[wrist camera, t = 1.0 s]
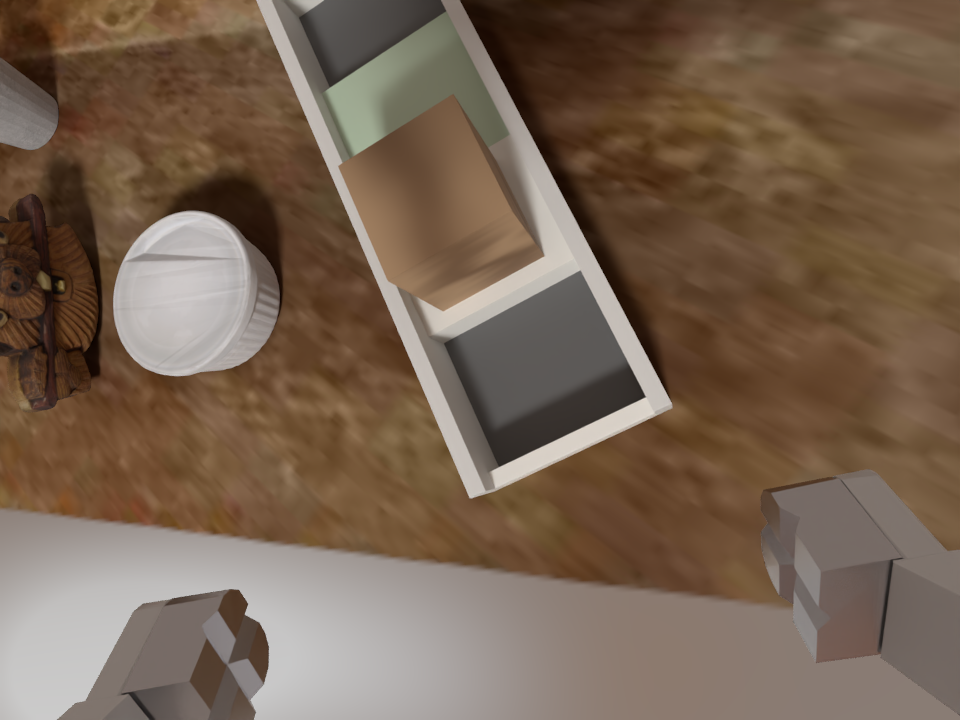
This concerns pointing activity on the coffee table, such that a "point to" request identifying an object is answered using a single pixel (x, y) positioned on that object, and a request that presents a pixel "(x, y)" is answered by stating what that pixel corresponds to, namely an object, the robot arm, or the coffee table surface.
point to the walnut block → (439, 208)
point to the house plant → (25, 110)
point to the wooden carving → (44, 307)
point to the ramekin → (194, 296)
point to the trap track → (509, 302)
